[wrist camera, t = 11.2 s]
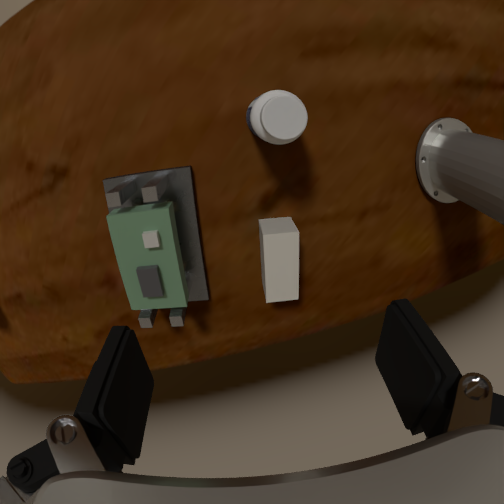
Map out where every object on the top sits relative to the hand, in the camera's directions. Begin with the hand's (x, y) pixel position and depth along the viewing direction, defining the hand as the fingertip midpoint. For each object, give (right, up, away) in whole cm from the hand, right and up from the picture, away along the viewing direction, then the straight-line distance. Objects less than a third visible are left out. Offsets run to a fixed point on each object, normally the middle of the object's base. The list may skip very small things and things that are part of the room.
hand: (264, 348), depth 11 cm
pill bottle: (+2, +19, +22) cm, 29 cm away
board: (-12, +3, +24) cm, 27 cm away
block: (+3, +4, +29) cm, 30 cm away
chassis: (-12, +5, +27) cm, 31 cm away
